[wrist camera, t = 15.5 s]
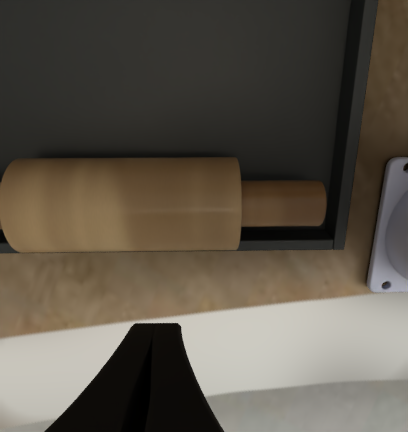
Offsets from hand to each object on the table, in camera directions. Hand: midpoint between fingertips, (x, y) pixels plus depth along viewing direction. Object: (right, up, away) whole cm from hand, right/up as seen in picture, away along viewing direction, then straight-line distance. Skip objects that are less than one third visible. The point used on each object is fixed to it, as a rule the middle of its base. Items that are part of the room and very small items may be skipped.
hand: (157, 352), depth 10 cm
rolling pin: (-2, +4, +7) cm, 8 cm away
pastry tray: (-2, +10, +7) cm, 13 cm away
